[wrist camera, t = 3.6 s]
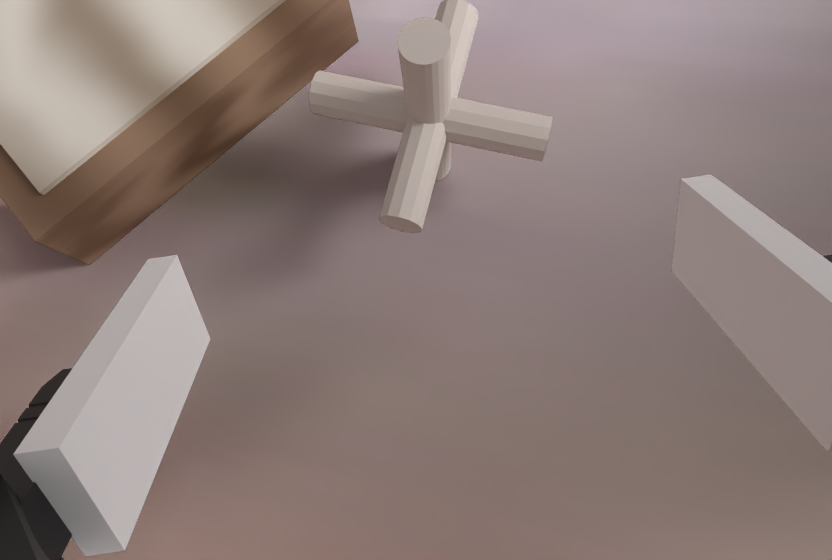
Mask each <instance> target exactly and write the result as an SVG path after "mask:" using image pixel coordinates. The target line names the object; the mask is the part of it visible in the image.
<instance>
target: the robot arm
mask: <svg viewBox="0 0 832 560" xmlns="http://www.w3.org/2000/svg"><path fill="white" fill-rule="evenodd" d="M671 271H672V272H673V273H674V275H675V276H676V277H677V278H678V279H679V280H680V282H681V283H682V284H683V285H684V286H685V287H686V288H687V290H688V291H689V292H690V293H691V294H692V295H693V297H694V298H695V299H696V300H697V301H698V302H699V304H700V305H701V306H702V307H703V308H704V309H705V310H706V312H707V313H708V314H709V315H710V316H711V317H712V319H713V320H714V321H715V322H716V323H717V324H718V326H719V327H720V328H721V329H722V330H723V331H724V333H725V334H726V335H727V336H728V337H729V338H730V339H731V341H732V342H733V343H734V344H735V345H736V346H737V348H738V349H739V350H740V351H741V352H742V353H743V355H744V356H745V357H746V358H747V359H748V360H749V361H750V363H751V364H752V365H753V366H754V367H755V368H756V370H757V371H758V372H759V373H760V374H761V375H762V377H763V378H764V379H765V380H766V381H767V382H768V383H769V385H770V386H771V387H772V388H773V389H774V390H775V392H776V393H777V394H778V395H779V396H780V397H781V399H782V400H783V401H784V402H785V403H786V404H787V406H788V407H789V408H790V409H791V410H792V411H793V412H794V414H795V415H796V416H797V417H798V418H799V419H800V421H801V422H802V423H803V424H804V425H805V426H806V428H807V429H808V430H809V431H810V432H811V433H812V434H813V436H814V437H815V438H816V439H817V440H818V441H819V443H820V444H821V445H822V446H823V447H824V448H825V450H826V451H827V452H832V255H828V256H822V255H820V254H819V253H817V252H816V251H815V250H813V249H812V248H811V247H809V246H808V245H807V244H805V243H804V242H802V241H801V240H800V239H798V238H797V237H796V236H794V235H793V234H792V233H790V232H789V231H787V230H786V229H785V228H783V227H782V226H781V225H779V224H778V223H777V222H775V221H774V220H772V219H771V218H770V217H768V216H767V215H766V214H764V213H763V212H762V211H760V210H759V209H757V208H756V207H755V206H753V205H752V204H751V203H749V202H748V201H747V200H745V199H744V198H742V197H741V196H740V195H738V194H737V193H736V192H734V191H733V190H732V189H730V188H729V187H727V186H726V185H725V184H723V183H722V182H721V181H719V180H718V179H717V178H715V177H714V176H712V175H711V174H709V175H703V176H696V177H689V178H683V179H681V182H680V192H679V202H678V211H677V221H676V231H675V241H674V251H673V261H672V270H671ZM209 341H210V336H209V334H208V331H207V329H206V326H205V324H204V321H203V319H202V316H201V314H200V311H199V309H198V306H197V304H196V301H195V299H194V296H193V294H192V291H191V289H190V286H189V284H188V281H187V279H186V276H185V274H184V271H183V269H182V266H181V264H180V261H179V259H178V256H177V255H172V256H165V257H158V258H152V259H148V260H147V261H146V263H145V264H144V266H143V267H142V269H141V270H140V271H139V273H138V274H137V276H136V277H135V279H134V280H133V282H132V283H131V285H130V286H129V287H128V289H127V290H126V292H125V293H124V295H123V296H122V298H121V299H120V300H119V302H118V303H117V305H116V306H115V308H114V309H113V311H112V312H111V313H110V315H109V316H108V318H107V319H106V321H105V322H104V324H103V325H102V326H101V328H100V329H99V331H98V332H97V334H96V335H95V337H94V338H93V340H92V341H91V342H90V344H89V345H88V347H87V348H86V350H85V351H84V353H83V354H82V355H81V357H80V358H79V360H78V361H77V363H76V364H75V366H74V367H73V368H71V369H64V370H62V371H60V372H59V373H58V374H57V375H56V376H54V377H53V378H52V379H51V380H50V381H48V382H47V383H46V384H45V385H43V386H42V387H41V389H40V390H39V391H38V393H37V394H36V396H35V397H34V398H33V400H32V401H31V402H30V404H29V408H26V409H25V411H24V412H23V413H22V415H21V416H20V418H19V419H18V423H15V424H14V426H13V427H12V428H11V430H10V431H9V433H8V434H7V435H6V437H5V438H4V439H3V441H2V442H1V444H0V560H64V559H63V558H62V554H63V552H64V550H65V548H66V546H67V544H68V542H69V540H70V538H71V537H72V539H73V540H74V541H75V543H76V544H77V546H78V547H79V549H80V550H81V551H82V553H83V554H84V556H91V555H98V554H105V553H112V552H119V551H125V549H126V547H127V544H128V542H129V539H130V537H131V534H132V532H133V529H134V527H135V525H136V522H137V520H138V517H139V515H140V512H141V510H142V507H143V505H144V502H145V500H146V497H147V495H148V492H149V490H150V487H151V485H152V482H153V480H154V478H155V475H156V473H157V470H158V468H159V465H160V463H161V460H162V458H163V455H164V453H165V450H166V448H167V445H168V443H169V440H170V438H171V435H172V433H173V430H174V428H175V426H176V423H177V421H178V418H179V416H180V413H181V411H182V408H183V406H184V403H185V401H186V398H187V396H188V393H189V391H190V388H191V386H192V383H193V381H194V379H195V376H196V374H197V371H198V369H199V366H200V364H201V361H202V359H203V356H204V354H205V351H206V349H207V346H208V344H209Z"/></svg>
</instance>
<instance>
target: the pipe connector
mask: <svg viewBox="0 0 832 560" xmlns="http://www.w3.org/2000/svg"><path fill="white" fill-rule="evenodd" d="M478 17H479V16H478V13H477V9H476V8H475V7H474V6H472V5H471V4H470V3H469V2H467V1H464V0H444V1H443V2H441V3H440V5H439V8H438V11H437V15H436V18H435V19H433V18H425V17H423V18H417V19H415V20H412V21H410V22H409V23H407V24H406V25H405V26H404V27H403V28H402V29H401V31H400V33H399V35H398V41H397V43H398V50H399V57H400V64H401V71H402V78H403V86H404V87H401V86H396V85H391V84H386V83H381V82H376V81H371V80H366V79H361V78H356V77H351V76H346V75H341V74H335V73H330V72H325V71H320V70H319V71H318V72H316V73H315V75H314V77H313V79H312V82H311V87H310V92H309V105H310V110H311V112H312V113H313V114H317V115H322V116H326V117H331V118H336V119H341V120H346V121H350V122H355V123H360V124H365V125H370V126H374V127H379V128H384V129H389V130H394V131H398V132H403V135H402V139H401V142H400V146H399V149H398V153H397V156H396V160H395V163H394V167H393V170H392V174H391V177H390V181H389V184H388V188H387V192H386V195H385V199H384V202H383V206H382V209H381V213H380V216H379V220H380V221H381V223H382V224H384V225H386V226H388V227H390V228H392V229H396V230H399V231H402V232H409V233H417V232H421V230H422V229H423V225H424V221H425V217H426V214H427V210H428V206H429V202H430V198H431V195H432V191H433V187H434V183H435V182H437V181H440V180H442V179H444V178H445V177H446V176H447V175H448V173H449V171H450V169H451V143H456V144H461V145H466V146H471V147H475V148H480V149H485V150H490V151H495V152H499V153H504V154H509V155H514V156H519V157H523V158H528V159H533V160H538V161H542V160H543V157H544V154H545V150H546V146H547V143H548V139H549V135H550V130H551V126H552V121H553V117H551V116H546V115H541V114H536V113H531V112H526V111H521V110H516V109H511V108H506V107H501V106H496V105H491V104H486V103H481V102H476V101H471V100H466V99H461V98H457V97H458V93H459V89H460V85H461V81H462V78H463V74H464V70H465V66H466V63H467V59H468V55H469V51H470V47H471V44H472V40H473V36H474V32H475V29H476V25H477V21H478Z"/></svg>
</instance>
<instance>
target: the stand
mask: <svg viewBox="0 0 832 560" xmlns="http://www.w3.org/2000/svg"><path fill="white" fill-rule="evenodd" d="M357 42H358V37H357V33H356V29H355V25H354V21H353V17H352V13H351V8H350V4H349V0H0V197H1V198H2V200H3V201H4V202H5V203H6V205H7V206H8V207H9V209H10V210H11V211H12V213H13V214H14V215H15V216H16V218H17V219H18V220H19V222H20V223H21V224H22V225H23V227H24V228H25V229H26V231H27V232H28V233H29V234H30V236H31V237H32V238H33V239H34V241H36V242H38V243H40V244H43V245H45V246H47V247H50V248H52V249H54V250H57V251H59V252H61V253H64V254H66V255H68V256H71V257H73V258H75V259H78V260H80V261H82V262H85V263H87V264H89V265H90V264H91V263H92V262H94V261H95V260H96V259H97V258H99V257H100V256H101V255H102V254H103V253H105V252H106V251H107V250H108V249H109V248H111V247H112V246H113V245H114V244H115V243H117V242H118V241H119V240H120V239H121V238H123V237H124V236H125V235H126V234H127V233H129V232H130V231H131V230H132V229H133V228H135V227H136V226H137V225H138V224H139V223H141V222H142V221H143V220H144V219H145V218H147V217H148V216H149V215H150V214H151V213H153V212H154V211H155V210H156V209H157V208H159V207H160V206H161V205H162V204H163V203H165V202H166V201H167V200H168V199H169V198H171V197H172V196H173V195H174V194H175V193H177V192H178V191H179V190H180V189H181V188H183V187H184V186H185V185H186V184H187V183H189V182H190V181H191V180H192V179H193V178H195V177H196V176H197V175H198V174H199V173H201V172H202V171H203V170H204V169H205V168H207V167H208V166H209V165H210V164H211V163H213V162H214V161H215V160H216V159H218V158H219V157H220V156H221V155H222V154H224V153H225V152H226V151H227V150H228V149H230V148H231V147H232V146H233V145H234V144H236V143H237V142H238V141H239V140H240V139H242V138H243V137H244V136H245V135H246V134H248V133H249V132H250V131H251V130H252V129H254V128H255V127H256V126H257V125H258V124H260V123H261V122H262V121H263V120H264V119H266V118H267V117H268V116H269V115H270V114H272V113H273V112H274V111H275V110H276V109H278V108H279V107H280V106H281V105H282V104H284V103H285V102H286V101H287V100H288V99H290V98H291V97H292V96H293V95H294V94H296V93H297V92H298V91H299V90H300V89H302V88H303V87H304V86H305V85H306V84H308V83H309V82H310V81H311V80H312V79H313V77H314V75H315V73H316V72H318V71H319V70H320V71H323V70H324V69H326V68H327V67H328V66H329V65H330V64H332V63H333V62H334V61H335V60H336V59H338V58H339V57H340V56H341V55H343V54H344V53H345V52H346V51H347V50H349V49H350V48H351V47H352V46H353V45H355V44H356V43H357Z"/></svg>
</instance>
